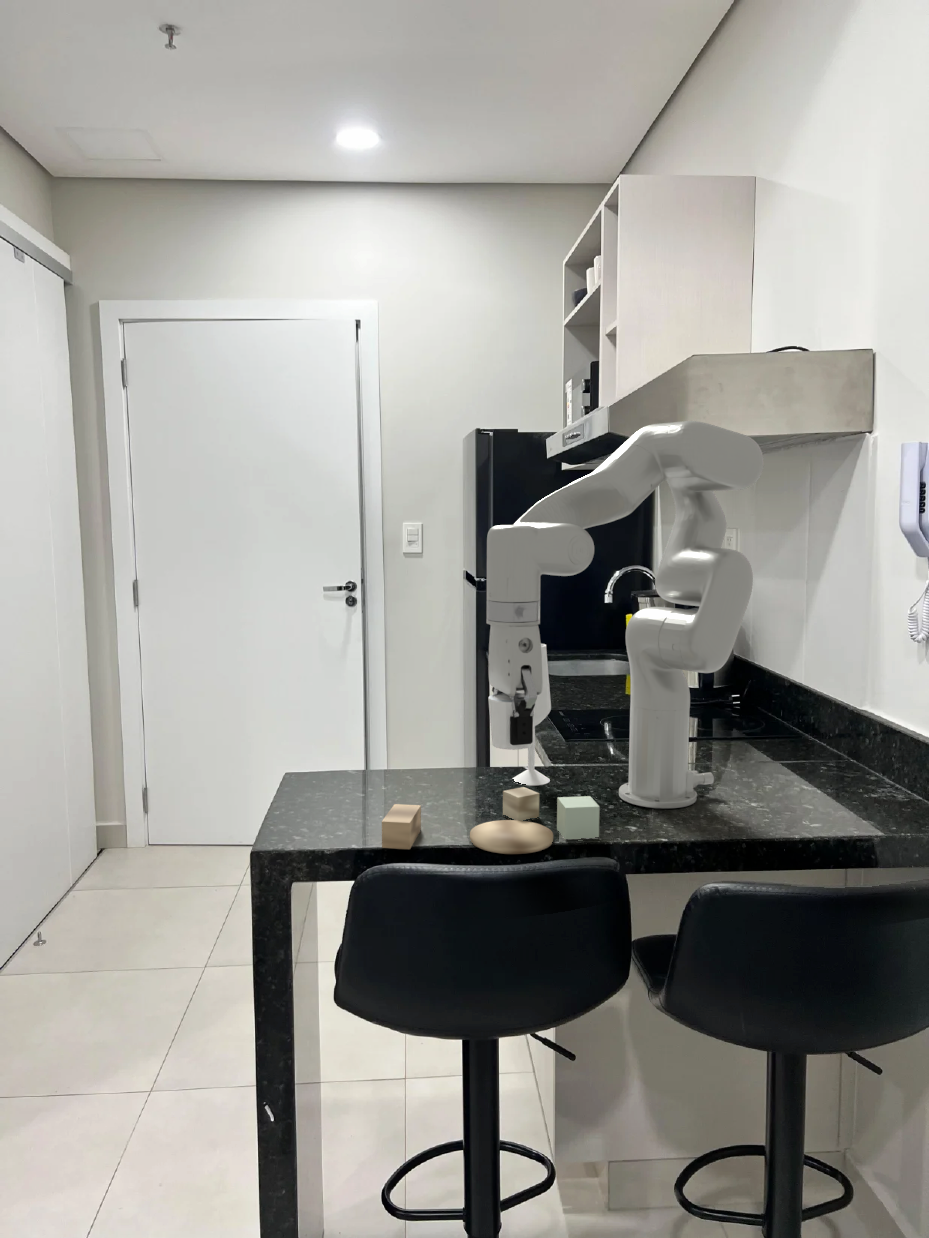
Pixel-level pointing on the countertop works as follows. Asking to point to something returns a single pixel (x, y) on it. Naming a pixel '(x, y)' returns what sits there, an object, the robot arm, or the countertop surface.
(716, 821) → the countertop surface
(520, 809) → the birch cube
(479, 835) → the cork trivet
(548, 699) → the champagne flute
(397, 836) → the oak brick
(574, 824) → the sage painted cube
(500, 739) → the shot glass
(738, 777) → the countertop surface
